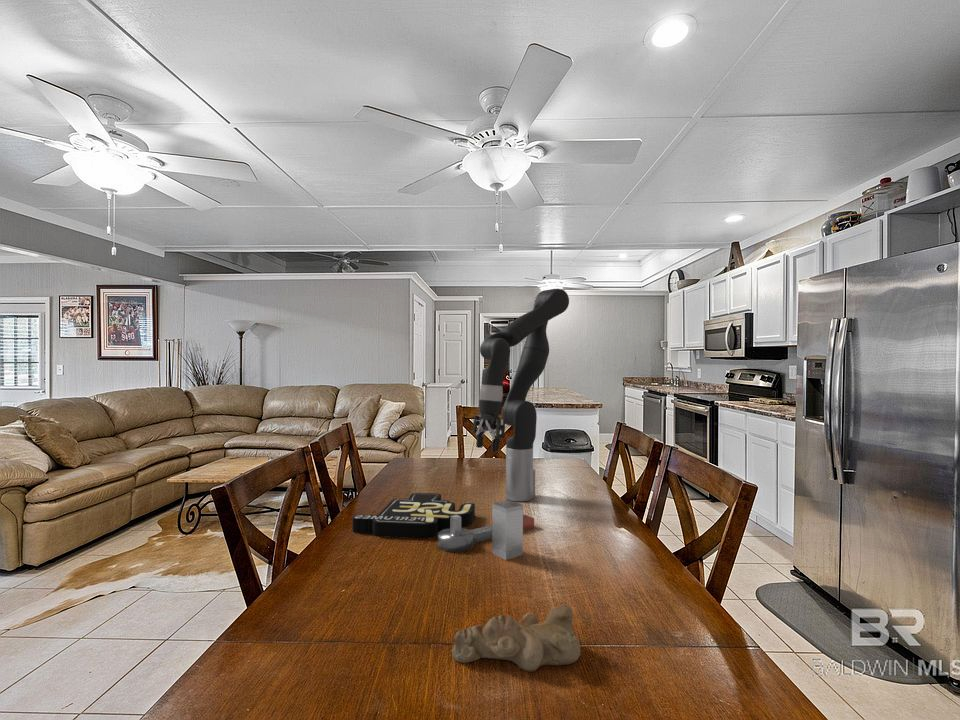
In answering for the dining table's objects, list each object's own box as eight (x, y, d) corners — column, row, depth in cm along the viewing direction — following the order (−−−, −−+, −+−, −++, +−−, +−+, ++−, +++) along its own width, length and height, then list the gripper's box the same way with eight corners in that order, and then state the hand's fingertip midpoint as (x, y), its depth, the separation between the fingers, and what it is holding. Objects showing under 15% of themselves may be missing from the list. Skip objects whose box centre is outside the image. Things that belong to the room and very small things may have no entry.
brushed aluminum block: (508, 548, 120) (509, 499, 120) (522, 555, 116) (522, 505, 116) (492, 553, 117) (492, 503, 117) (505, 560, 113) (506, 508, 113)
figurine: (587, 638, 71) (450, 637, 71) (584, 684, 72) (449, 684, 72) (570, 589, 83) (453, 587, 82) (567, 629, 84) (452, 628, 83)
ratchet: (519, 521, 141) (519, 496, 141) (540, 530, 133) (540, 504, 133) (431, 543, 123) (431, 515, 123) (450, 554, 116) (450, 524, 116)
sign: (347, 521, 129) (381, 491, 158) (347, 536, 129) (381, 504, 158) (466, 526, 125) (478, 494, 155) (466, 541, 125) (478, 507, 155)
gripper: (513, 401, 154) (509, 452, 153) (487, 398, 165) (483, 446, 164) (494, 400, 149) (490, 452, 148) (469, 397, 161) (465, 446, 160)
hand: (486, 449), depth 156 cm, fingers open, 8 cm apart
